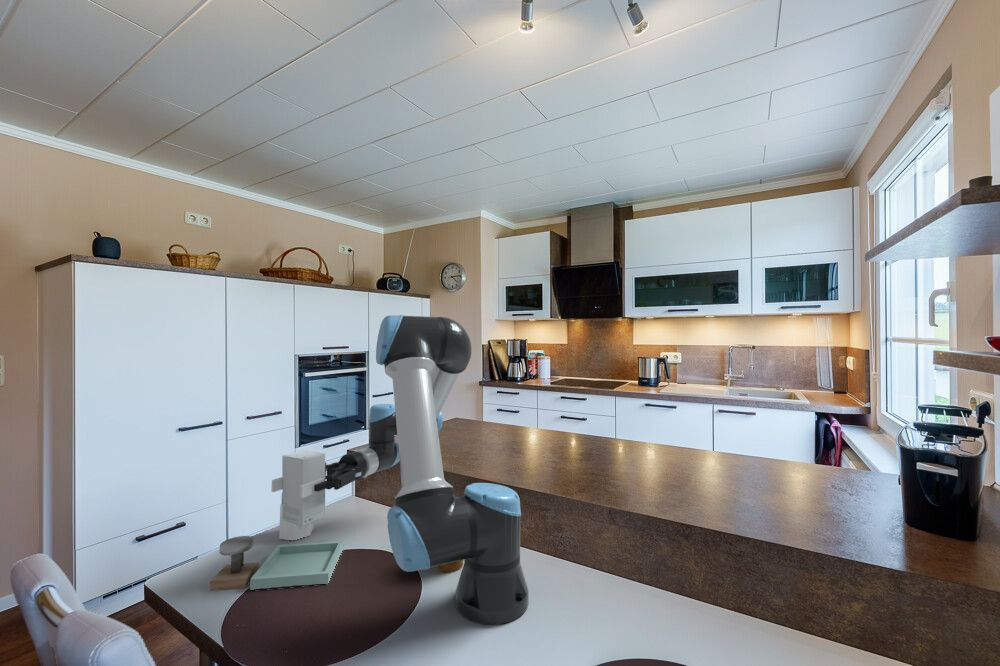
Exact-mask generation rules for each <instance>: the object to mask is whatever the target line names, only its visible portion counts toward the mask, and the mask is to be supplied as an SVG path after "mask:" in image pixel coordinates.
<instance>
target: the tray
mask: <svg viewBox="0 0 1000 666" xmlns="http://www.w3.org/2000/svg"><path fill="white" fill-rule="evenodd" d="M342 551H343V552H344V540H338V541H337V540H335V541H324V542H323V541H322V542H307V543H306V542H305V543H294V544H293V543H292V544H279V545H276V547H275V548H274V549H273V550H272V552H271V553H270V554H269V555H268V556H267V558H266V559H265V560H264V561H263V563H262V564H261V566H259V569H258V570H257V572H256V573H255V574H254V575H253V577H252V578H251V579H250V582H249V591H250V590H254V589H260V588H271V587H282V586H293V585H310V584H311V585H312V584H326V585H329V584H328V583H330V582H329V581H331V579H332V577H331V576H333V575H332V573H333V574H334V572H335V570H336V568H335V566H336V564H337V565H338V563H339V561H340V559H339V557H340V555H341V556H342V554H343V552H342ZM341 553H342V554H341ZM340 558H341V557H340ZM338 560H339V561H338ZM337 562H338V563H337ZM336 567H337V566H336ZM334 569H335V570H334ZM333 571H334V572H333ZM330 578H331V579H330Z"/></svg>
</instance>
